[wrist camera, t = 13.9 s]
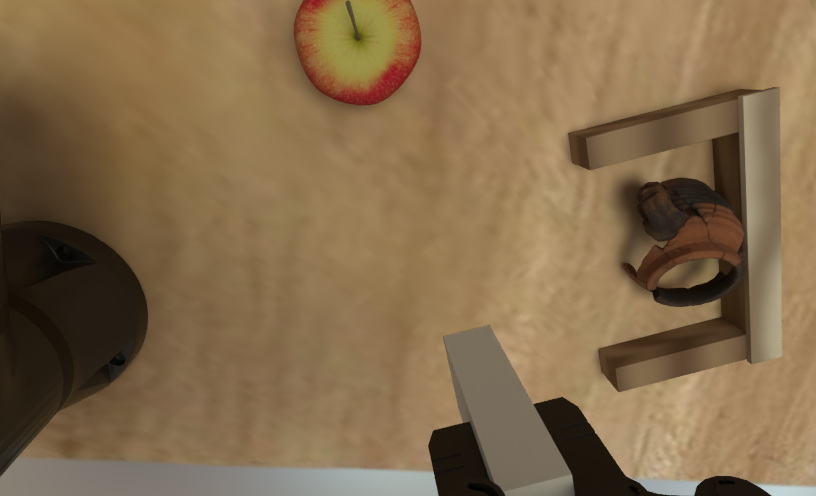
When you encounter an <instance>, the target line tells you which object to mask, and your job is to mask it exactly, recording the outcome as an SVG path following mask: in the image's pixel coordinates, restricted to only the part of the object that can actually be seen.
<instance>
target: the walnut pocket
mask: <svg viewBox="0 0 816 496" xmlns="http://www.w3.org/2000/svg"><path fill="white" fill-rule="evenodd" d="M709 139H713V152H714V172H715V191H716V192H717V193H718V194H720V196H721V197H723V198H724V200H725V201H726V202H727V203H728V204H729V206H730V207H731V208H732V209H733V211H734V213H735V214H736V216H735V217H736V218H737V219H738V220H739V221H740V222H741V224H742V230H743V231H744V237H743V242H742V243H741V245H742V244H744V245H745V247H746V251H745V256H744V260H743V262H744V265H745V268H746V275H745V277H744V279H743V281H742V282H741V284H740V285H738V286H737V287H736V288H735V289H734V290H733V291H731V292H730V293H729V294H727V295H725V296H724V297H722V298H721V309H722V317H720V318H716V319H713V320H709V321H705V322H701V323H697V324H693V325H689V326H685V327H682V328H678V329H674V330H670V331H666V332H662V333H658V334H655V335H651V336H647V337H643V338H639V339H635V340H631V341H628V342H624V343H620V344H616V345H612V346H608V347H604V348H601V349H599V357H600V364H601V371H602V373H603V374H604V375H605V376H606V378H607V379H608V380H609V381H610V382H611V384H612V385H613V386H614V387H615V389H616V390H617V391H618V392H622V391H626V390H629V389H633V388H637V387H641V386H645V385H649V384H652V383H656V382H660V381H664V380H668V379H672V378H676V377H679V376H683V375H687V374H691V373H695V372H699V371H703V370H706V369H710V368H714V367H718V366H722V365H726V364H730V363H733V362H737V361H741V360H745V359H747V361H748V362H749V363H750V364H755V363H759V362H763V361H767V360H770V359H774V358H778V357H782V281H781V179H780V87H772V88H769V89H765V90H748V89H739V90H735V91H731V92H727V93H723V94H720V95H716V96H712V97H708V98H704V99H700V100H696V101H692V102H688V103H684V104H681V105H677V106H673V107H669V108H665V109H661V110H657V111H653V112H649V113H645V114H642V115H638V116H634V117H630V118H626V119H622V120H618V121H614V122H610V123H606V124H602V125H599V126H595V127H591V128H587V129H583V130H579V131H575V132H571V133H569V141H570V148H571V155H572V162H573V163H574V164H576V165H579V166H581V167H584V168H586V169H588V170H592V169H596V168H600V167H604V166H608V165H612V164H616V163H620V162H624V161H627V160H631V159H635V158H639V157H643V156H647V155H651V154H655V153H659V152H663V151H666V150H670V149H674V148H678V147H682V146H686V145H690V144H694V143H698V142H701V141H705V140H709ZM739 250H740V248H739V249H738V251H739ZM732 266H733V265H731V264H730V263H729V262H727V261H725V260H722V259H719V270H720V271H722V272H724V274H725V275H727V274H728V273H729V272H730V270H731V269H732Z"/></svg>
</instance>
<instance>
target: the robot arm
mask: <svg viewBox="0 0 816 496" xmlns="http://www.w3.org/2000/svg"><path fill="white" fill-rule="evenodd" d="M146 329H147V307H146V302H145V298H144V294H143V292H142V289H141V287H140V284H139V282H138V280H137V279H136V277H135V275H134V274H133V272H132V271H131V269H130V268H129V267H128V265H127V264H126V263H125V262H124V261H123V260H122V258H121V257H120V256H119V255H117V254H116V253H115V252H114V251H113V250H112V249H111V248H109V247H108V246H107V245H105V244H104V243H103V242H101V241H100V240H98V239H96V238H95V237H93V236H91V235H89V234H87V233H85V232H83V231H80V230H78V229H75V228H72V227H69V226H66V225H62V224H57V223H52V222H44V221H25V222H17V223H12V224H7V225H4V226H2V224H1V214H0V476H1V475H2V474H3V473H4V472H5V471H6V470H7V469H8V467H9V466H10V465H11V464H12V463H13V462H14V461H15V459H16V458H17V457H18V456H19V455H20V454H21V453H22V451H23V450H24V449H25V448H26V447H27V446H28V445H29V444H30V442H31V441H32V440H33V439H34V438H35V437H36V436H37V435H38V433H39V432H40V431H41V430H42V429H43V428H44V427H45V426H46V424H47V423H48V422H49V421H50V420H51V419H52V417H53V416H54V415H55V414H56V413H57V412H58V411H60V410H62V409H64V408H66V407H68V406H70V405H72V404H74V403H76V402H78V401H80V400H82V399H84V398H86V397H88V396H90V395H92V394H94V393H96V392H98V391H100V390H102V389H103V388H105V387H106V386H108V385H109V384H110V383H112V382H113V381H114V380H115V379H116V378H118V377H119V376H120V375H121V373H122V372H123V371H124V370H125V369H126V367H127V366H128V365H129V364H130V363H131V361H132V360H133V359H134V357H135V356H136V355H137V353H138V351H139V350H140V348H141V346H142V343H143V341H144V338H145V334H146ZM443 339H444V343H445V348H446V353H447V357H448V362H449V366H450V371H451V376H452V380H453V385H454V389H455V394H456V399H457V403H458V408H459V411H460V414H461V417H462V420H463V423H462V424H458V425H454V426H450V427H446V428H442V429H438V430H434V431H433V433H432V436H431V439H430V442H429V445H428V447H429V452H430V456H431V461H432V466H433V471H434V475H435V480H436V485H437V489H438V495H439V496H676V495H662V494H656V493H652V492H649V491H647V490H646V489H645V488H644V487H643V486H642V485H641V484H640V483H638V482H636V481H634V480H632V479H630V478H628V477H626V476H625V475H624V473H623V472H622V470H621V469H620V468H619V466H618V465H617V463H616V462H615V460H614V459H613V457H612V456H611V454H610V453H609V451H608V450H607V448H606V447H605V446H604V444H603V443H602V441H601V440H600V438H599V437H598V435H597V434H595V431H594V429H593V428H592V427H591V425H590V424H589V423H588V422H587V419H586V418H585V416H584V415H583V413H582V412H581V410H580V409H579V408H578V406H576V405H574V404H573V403H571V402H570V401H568V400H566V399H565V398H563V397H560V398H556V399H552V400H548V401H544V402H540V403H536V404H533V403H532V401H531V399H530V398H529V396H528V394H527V392H526V390H525V389H524V387H523V385H522V383H521V381H520V380H519V378H518V376H517V374H516V372H515V370H514V369H513V367H512V365H511V363H510V361H509V360H508V358H507V356H506V354H505V352H504V351H503V349H502V347H501V345H500V343H499V342H498V340H497V338H496V336H495V334H494V332H493V331H492V329H491V327H490V325H487V326H483V327H479V328H475V329H471V330H467V331H462V332H458V333H454V334H450V335H446V336H443ZM694 496H771V495H770V494H768V493H767V492H766V491H764V490H763V489H761V488H760V487H758V486H756V485H754V484H752V483H750V482H749V481H747V480H744V479H740V478H736V477H732V476H715V477H711V478H708V479H705V480H703V481H702V482H701V483H700V484H699V485H698V486H697V488H696V492H695V495H694Z"/></svg>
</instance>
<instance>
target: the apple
mask: <svg viewBox="0 0 816 496" xmlns="http://www.w3.org/2000/svg"><path fill="white" fill-rule="evenodd" d="M294 38H295V44H296V48H297V52H298V56H299V59H300V61H301V64H302V66H303V68H304V70H305V72H306V74H307V76H308V78H309V79H310V81H311V82H312V83H313V85H314V86H315V87H316V88H317V89H318V90H319V91H321V92H322V93H323V94H325V95H327V96H329V97H331V98H333V99H335V100H338V101H341V102H344V103H348V104H354V105H371V104H376V103H379V102H381V101H383V100H385V99H386V98H388V97H389V96H390V95H392V94H393V93H394V92H395V91H396V90H397V89H398V88H399V87H400V86H401V85H402V84H403V83H404V81H405V80H406V79H407V77H408V76H409V75H410V73H411V72H412V70H413V68H414V66H415V64H416V62H417V60H418V58H419V54H420V50H421V32H420V27H419V22H418V18H417V15H416V12H415V10H414V7H413V5H412V3H411V1H410V0H303V2H302V4H301V6H300V8H299V10H298V12H297V15H296V18H295V23H294Z"/></svg>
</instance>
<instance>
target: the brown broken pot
mask: <svg viewBox="0 0 816 496" xmlns="http://www.w3.org/2000/svg"><path fill="white" fill-rule="evenodd" d="M637 196H638V200H639V204H638V206H637V209H638V212H639V214H640V215H641V217H642V218H643V225H644V227H645V231H646V233H647V234H649V235H650V236H652V237H653V238H654V239H655V240H657V241H666V240H668V243H667V244H666V245H665V247H664V248H661V247H659V246H657V245H655V246H653V247H652V249H651V250H650V251H649V253H648V254H647V256H646V257H645V258H644V259H643V261H642V264H641V266H640V267H639V269H638V271H637V272H636V270H635V268H634V267H633V266H632V265H630V264H629V263H625V264H624V266H625V268H626V270H627V272H628V273H629V274H630V276H631V278H632V279H633V280H634V281H635V282H637V283H638V284H640V285H641V286H642V287H644V288H645V289H647V290H648V291H651V292H652V293H653V297H654V300H655V301H656V302H658V303H660V304H663V305H668V306H675V307H684V306H694V305H701V304H704V303H708V302H712V301H714V300H717V299H719V298H722V297H724V296H725V295H727V294H729V293H730V292H731V291H733V290H734V289H735V288H736V287H737V286H738V285H740V284H741V282H742V281H743V279H744V277H745V275H746V268H745V265H744V262H743V260H744V256H745V251H746V247H745V245H744V244H742V245H741V243H742V242H743V237H744V231H743V230H742V224H741V222H740V221H739V220H738V219H737V218H736V217H735V216H736V214H735V213H734V211H733V209H732V208H731V207H730V206H729V204H728V203H727V202H726V201H725V200H724V198H723V197H721V196H720V194H718V193H717V192H715V191H713V190H712V189H711V188H710V187H709V186H707V185H706V184H705V183H703V182H700V181H698V180H694V179H687V178H679V179H675V180H669V181H665V182H662V183H661V184H660V183H659V182H649V183H647V184H645V185H644V186H643V187H641V188H640V190H639V192H638V194H637ZM688 207H689V208H690V209H691V210H692V211H694V213H696V214H697V216H696V215H691V216H689V215H688V213H687V212H686V211H685V210H686V209H687V208H688ZM739 248H740V250H739V251H738V249H739ZM704 258H715V259H722V260H725V261H727V262H729V263H730V264H731V265H733V266H732V269H731V270H730V272H729V273H728V274H727V275H725V274H724V272H722V271H720V272H719V273H718V274H717V276H716V277H715V278H714V279H712V280H710V281H709V282H707V283H703V284H700V285H696V286H693V287H691V288H689V289H687V288H670V289H668V288H660V287H657V283H658V280H659V279H660V277H661V276H662V275H663V274H664V273H666V272H667V271H668V270H670V269H672V268H673V267H675V266H676V265H677V264H681V263H684V262H687V261H692V260H697V259H704Z"/></svg>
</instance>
